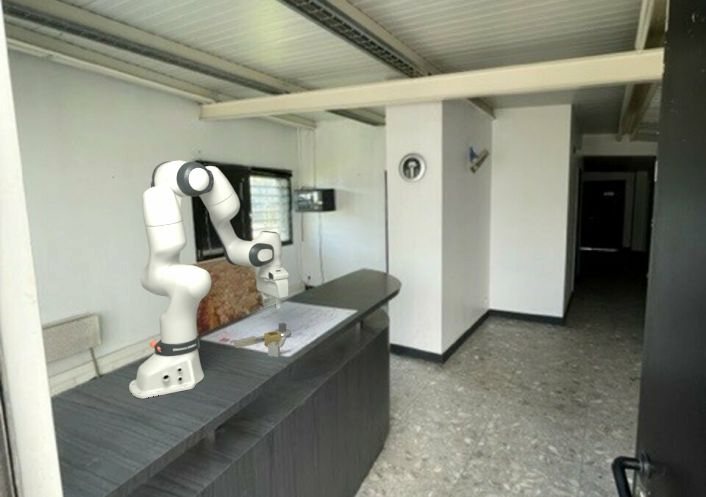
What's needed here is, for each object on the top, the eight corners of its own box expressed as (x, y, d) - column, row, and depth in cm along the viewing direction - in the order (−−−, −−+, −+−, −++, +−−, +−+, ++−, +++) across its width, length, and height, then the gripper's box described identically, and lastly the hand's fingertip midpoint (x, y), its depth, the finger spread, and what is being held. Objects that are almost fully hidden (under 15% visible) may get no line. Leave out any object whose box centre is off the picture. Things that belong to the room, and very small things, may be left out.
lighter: (268, 355, 164) (267, 335, 163) (270, 354, 165) (269, 334, 164) (285, 357, 162) (284, 337, 161) (287, 356, 164) (286, 335, 162)
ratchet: (239, 349, 170) (238, 336, 170) (232, 344, 176) (231, 331, 175) (293, 336, 186) (293, 323, 185) (285, 332, 191) (285, 320, 191)
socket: (270, 348, 171) (270, 336, 170) (264, 345, 175) (264, 333, 174) (281, 345, 174) (281, 334, 174) (275, 342, 178) (275, 330, 177)
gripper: (252, 268, 177) (253, 301, 179) (276, 276, 161) (277, 312, 163) (265, 267, 181) (266, 299, 182) (291, 274, 165) (292, 309, 167)
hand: (272, 305), depth 172 cm, fingers open, 8 cm apart
